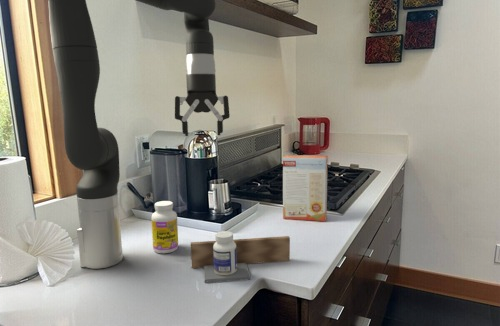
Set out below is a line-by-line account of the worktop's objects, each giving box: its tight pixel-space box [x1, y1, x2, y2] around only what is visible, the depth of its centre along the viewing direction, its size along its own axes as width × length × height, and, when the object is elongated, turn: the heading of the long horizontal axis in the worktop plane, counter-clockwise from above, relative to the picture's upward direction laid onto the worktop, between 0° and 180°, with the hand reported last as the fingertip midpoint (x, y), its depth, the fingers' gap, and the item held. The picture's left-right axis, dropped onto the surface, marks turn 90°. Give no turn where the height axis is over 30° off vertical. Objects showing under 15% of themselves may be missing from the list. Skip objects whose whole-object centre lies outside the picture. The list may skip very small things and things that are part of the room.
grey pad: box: [203, 263, 251, 284], centre depth 87 cm, size 10×7×1 cm
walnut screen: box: [190, 235, 291, 269], centre depth 91 cm, size 24×1×6 cm, turn 98°
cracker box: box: [282, 154, 328, 222], centre depth 124 cm, size 14×6×21 cm, turn 74°
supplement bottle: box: [151, 200, 179, 254], centre depth 100 cm, size 7×7×13 cm
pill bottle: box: [213, 230, 237, 275], centre depth 86 cm, size 5×5×9 cm
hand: (203, 135), depth 100 cm, fingers open, 8 cm apart
